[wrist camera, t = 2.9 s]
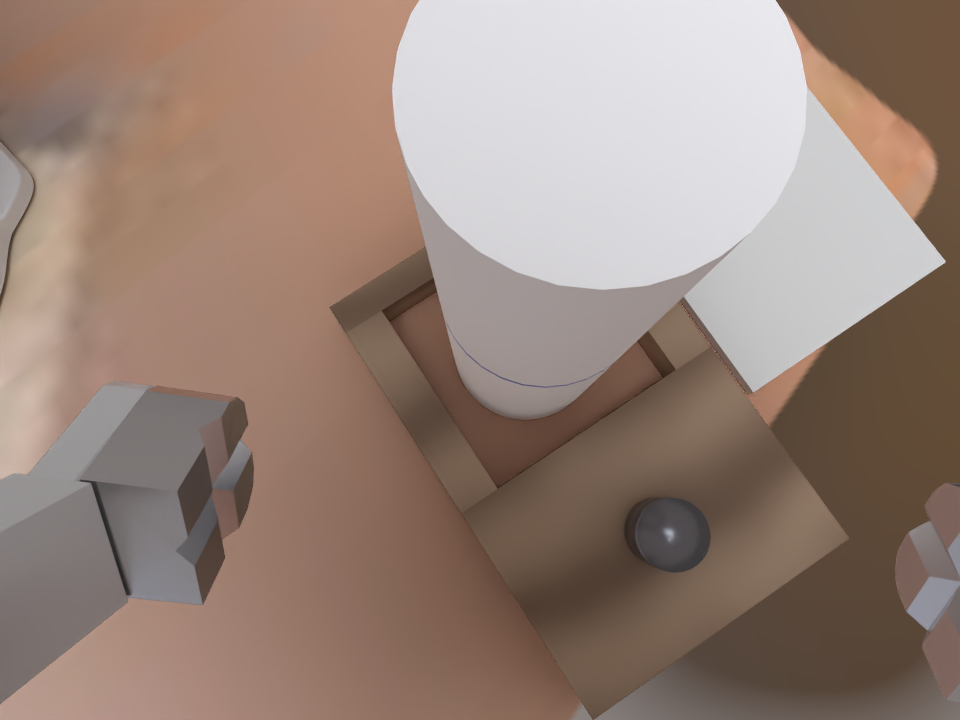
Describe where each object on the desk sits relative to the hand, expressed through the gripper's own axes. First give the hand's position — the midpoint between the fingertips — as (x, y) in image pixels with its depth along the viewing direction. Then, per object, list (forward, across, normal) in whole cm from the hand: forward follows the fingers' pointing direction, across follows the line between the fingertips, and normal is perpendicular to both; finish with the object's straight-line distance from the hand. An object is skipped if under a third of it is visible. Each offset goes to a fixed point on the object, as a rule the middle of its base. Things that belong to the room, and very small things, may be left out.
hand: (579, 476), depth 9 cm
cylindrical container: (+24, 0, +15) cm, 29 cm away
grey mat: (+30, -12, +10) cm, 34 cm away
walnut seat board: (+22, -3, +17) cm, 28 cm away
